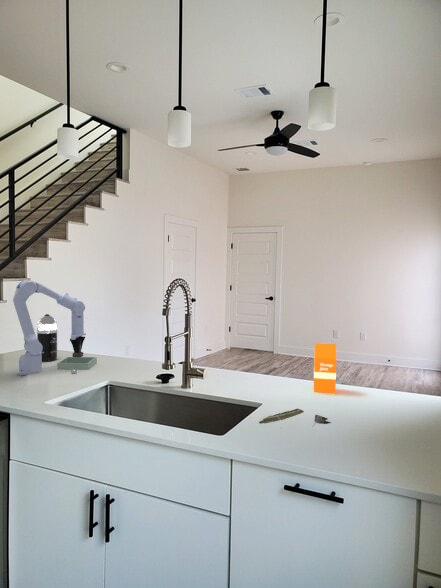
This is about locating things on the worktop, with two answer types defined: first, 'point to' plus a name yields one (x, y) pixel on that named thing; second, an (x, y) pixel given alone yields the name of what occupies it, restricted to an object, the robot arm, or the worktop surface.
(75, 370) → the stud plate
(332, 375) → the orange juice
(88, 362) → the bin
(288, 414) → the dried leaves
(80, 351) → the strut
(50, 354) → the spray bottle
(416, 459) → the worktop surface
